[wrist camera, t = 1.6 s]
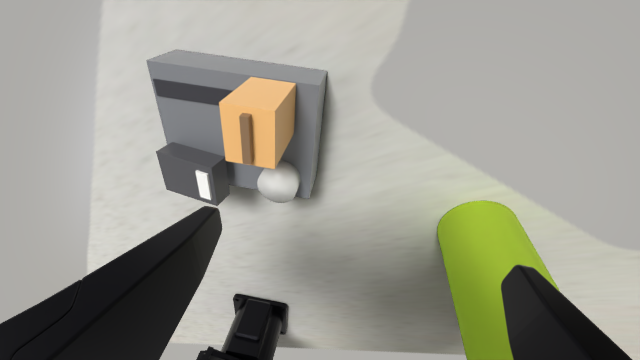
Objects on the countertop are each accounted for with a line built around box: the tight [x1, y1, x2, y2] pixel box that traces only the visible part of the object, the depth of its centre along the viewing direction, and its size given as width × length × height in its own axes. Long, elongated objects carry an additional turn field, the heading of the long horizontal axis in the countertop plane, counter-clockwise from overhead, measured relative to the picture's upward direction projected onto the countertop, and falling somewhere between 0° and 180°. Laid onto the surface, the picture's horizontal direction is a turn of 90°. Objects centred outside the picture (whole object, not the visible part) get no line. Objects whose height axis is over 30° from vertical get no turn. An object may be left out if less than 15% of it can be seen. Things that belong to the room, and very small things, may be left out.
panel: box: [146, 50, 327, 203], centre depth 19 cm, size 8×10×4 cm
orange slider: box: [219, 77, 296, 169], centre depth 15 cm, size 3×2×4 cm
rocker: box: [156, 142, 229, 206], centre depth 19 cm, size 3×4×2 cm
